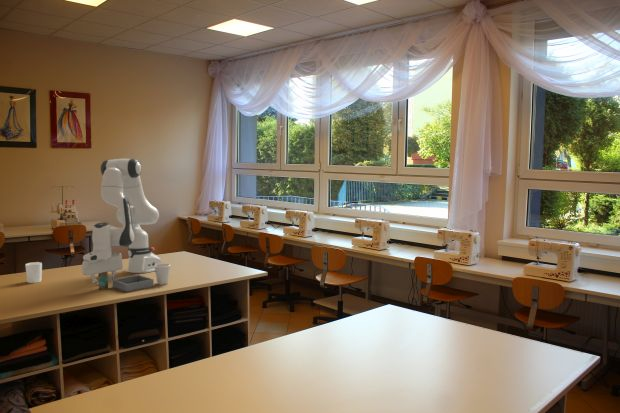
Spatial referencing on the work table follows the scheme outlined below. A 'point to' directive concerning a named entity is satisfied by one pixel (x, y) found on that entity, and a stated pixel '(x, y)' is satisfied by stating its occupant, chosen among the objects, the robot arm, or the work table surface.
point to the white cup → (34, 272)
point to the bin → (132, 283)
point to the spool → (103, 280)
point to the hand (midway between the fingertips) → (103, 281)
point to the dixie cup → (162, 273)
